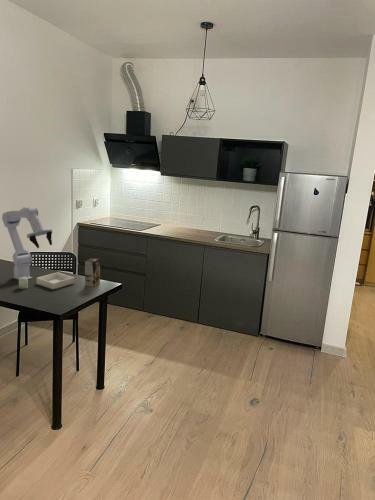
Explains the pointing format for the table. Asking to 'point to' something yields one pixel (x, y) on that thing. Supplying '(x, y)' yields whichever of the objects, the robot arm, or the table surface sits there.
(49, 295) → the table surface
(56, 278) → the white bin
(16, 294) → the table surface
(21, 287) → the sage green capsule
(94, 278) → the coffee box
